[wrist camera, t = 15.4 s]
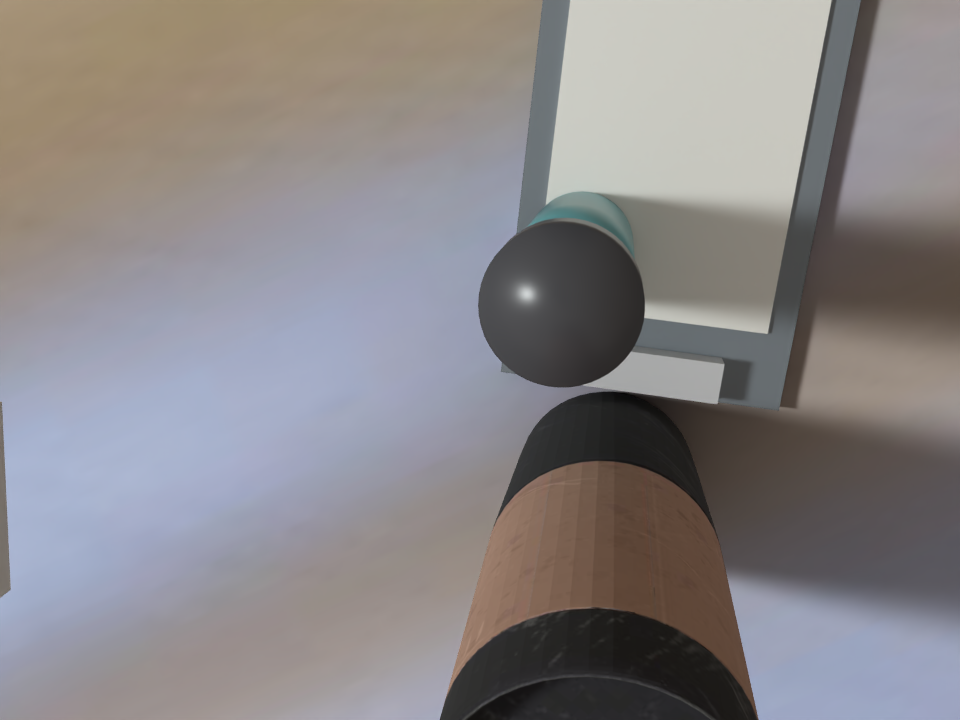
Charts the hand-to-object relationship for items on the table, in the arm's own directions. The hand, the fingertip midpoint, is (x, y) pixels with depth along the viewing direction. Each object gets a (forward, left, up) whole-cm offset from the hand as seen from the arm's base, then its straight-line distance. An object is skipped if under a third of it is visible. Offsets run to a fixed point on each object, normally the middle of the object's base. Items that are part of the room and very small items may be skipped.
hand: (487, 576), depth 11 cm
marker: (-1, 0, -25) cm, 25 cm away
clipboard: (-4, +3, -26) cm, 26 cm away
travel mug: (+9, +2, -26) cm, 28 cm away
